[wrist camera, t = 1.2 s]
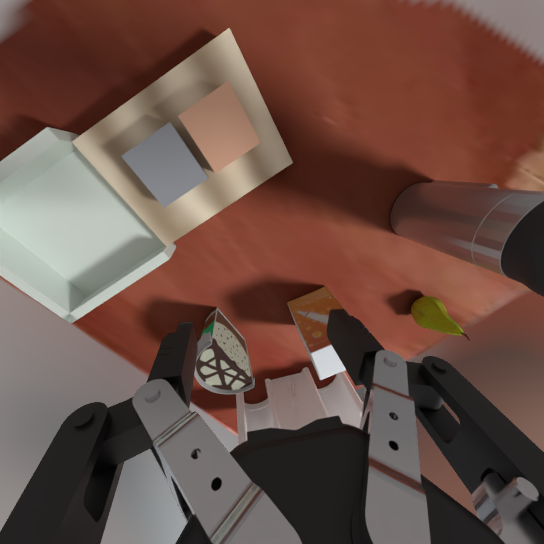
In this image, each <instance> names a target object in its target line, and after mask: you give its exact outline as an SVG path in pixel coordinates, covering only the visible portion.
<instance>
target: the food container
mask: <svg viewBox="0 0 544 544" xmlns="http://www.w3.org/2000/svg"><path fill="white" fill-rule="evenodd" d="M197 345H198V352H197V360H196V366H195V373H194V375H195V377H196V379H197V381H198V382H199V384H200V385H201V386H202V387H204V388H205V389H207V390H209V391H211V392H215V393H219V394H237V393H242V392H245V391H248V390H250V389H252V388H254V385H255V378H253V376H252V371H251V366H250V361H249V356H248V351H247V346H246V341H245V339H244V338H243V336H242V335H241V334H240V333H239V332H238V331H237V330H236V328H235V327H234V326H233V325H232V324H231V323H230V321H229V320H228V319H227V318H226V317H225V316H224V315H223V313H222V312H221V311H220V310H219V309H218V308H217V307H216V308H215V309H214V310H212V311H211V312H210V314H209V315H208V316H207V318H206V321H205V324H204V327H203V331H202V335H201V339H200V340H199V341H198V342H197Z"/></svg>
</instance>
